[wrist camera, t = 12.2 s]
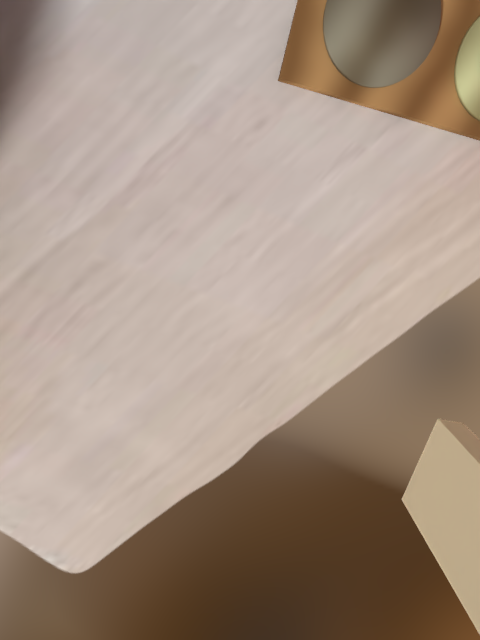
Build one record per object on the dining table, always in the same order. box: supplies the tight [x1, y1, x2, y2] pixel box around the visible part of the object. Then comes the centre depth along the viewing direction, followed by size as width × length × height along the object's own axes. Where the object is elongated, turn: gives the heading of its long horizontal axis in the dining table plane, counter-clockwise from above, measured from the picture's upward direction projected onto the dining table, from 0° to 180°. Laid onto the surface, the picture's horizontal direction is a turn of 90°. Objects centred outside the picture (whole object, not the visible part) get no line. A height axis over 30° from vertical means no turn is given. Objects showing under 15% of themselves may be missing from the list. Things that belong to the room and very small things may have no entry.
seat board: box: [278, 0, 480, 140], centre depth 35 cm, size 26×12×2 cm, turn 76°
